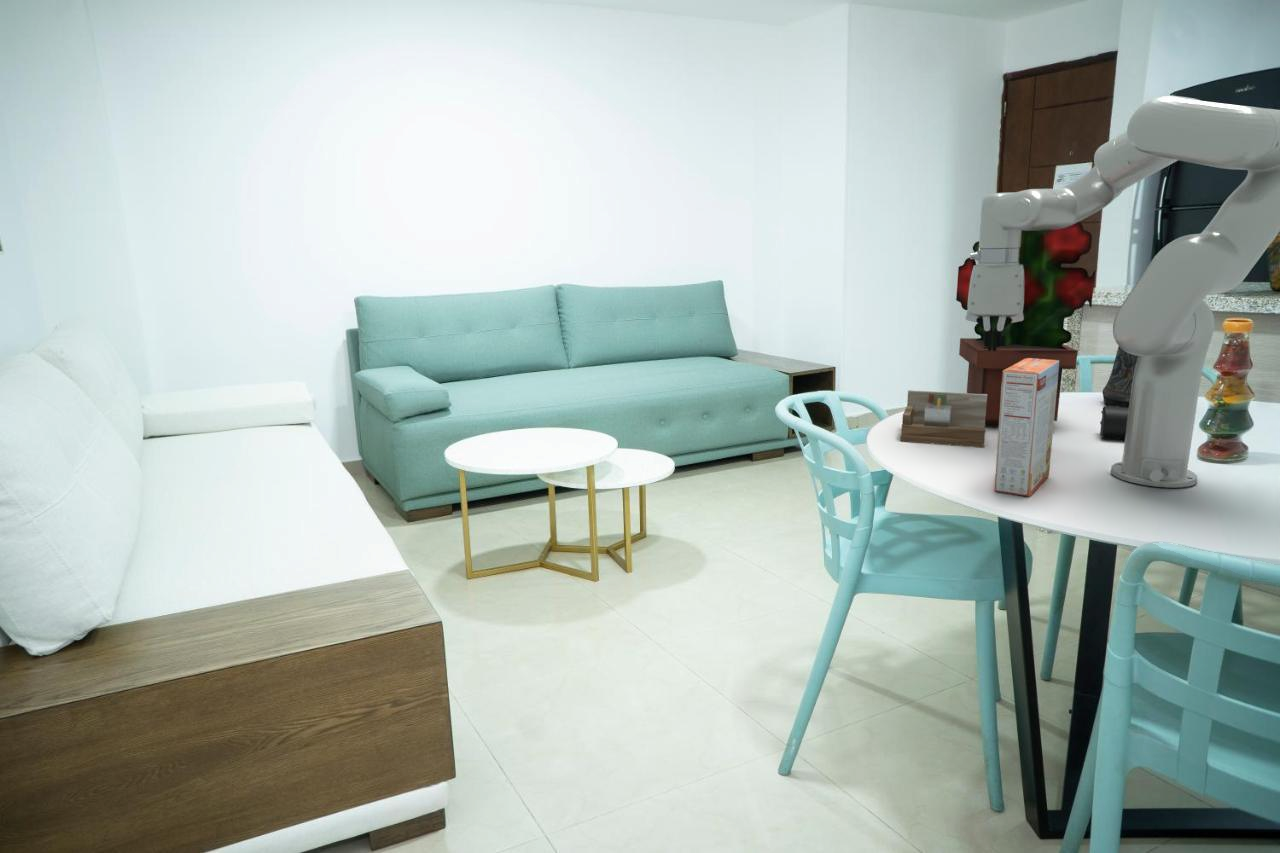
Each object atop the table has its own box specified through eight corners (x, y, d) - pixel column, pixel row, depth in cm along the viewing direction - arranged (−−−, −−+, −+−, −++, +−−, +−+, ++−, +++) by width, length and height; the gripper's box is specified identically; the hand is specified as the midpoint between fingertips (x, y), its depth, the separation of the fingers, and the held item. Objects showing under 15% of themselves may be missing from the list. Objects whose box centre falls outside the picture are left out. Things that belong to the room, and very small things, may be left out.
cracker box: (1013, 471, 142) (1024, 356, 137) (1050, 477, 138) (1062, 359, 133) (990, 491, 131) (1001, 368, 126) (1029, 498, 127) (1041, 371, 122)
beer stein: (1160, 399, 196) (1174, 298, 190) (1203, 417, 178) (1219, 306, 172) (1090, 399, 199) (1101, 299, 193) (1124, 416, 180) (1138, 307, 174)
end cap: (1101, 441, 160) (1105, 409, 158) (1097, 433, 166) (1100, 402, 165) (1159, 445, 156) (1163, 412, 154) (1152, 437, 162) (1156, 405, 161)
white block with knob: (948, 433, 164) (951, 403, 162) (923, 431, 166) (925, 401, 164) (949, 428, 168) (952, 398, 167) (925, 426, 170) (927, 397, 169)
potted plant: (1077, 434, 166) (1101, 214, 155) (966, 431, 170) (982, 217, 160) (1046, 411, 187) (1066, 216, 176) (948, 409, 191) (961, 219, 181)
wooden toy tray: (983, 447, 157) (987, 406, 155) (900, 441, 164) (902, 402, 162) (984, 431, 170) (987, 393, 168) (906, 426, 176) (908, 389, 174)
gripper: (957, 259, 154) (951, 351, 159) (1042, 257, 149) (1033, 353, 153) (958, 258, 161) (953, 346, 165) (1039, 256, 155) (1031, 348, 159)
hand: (991, 349), depth 159 cm, fingers closed
